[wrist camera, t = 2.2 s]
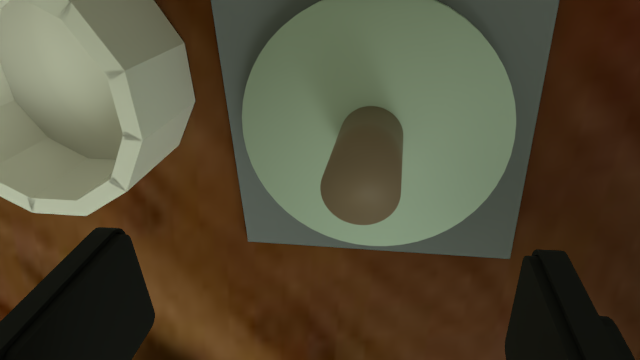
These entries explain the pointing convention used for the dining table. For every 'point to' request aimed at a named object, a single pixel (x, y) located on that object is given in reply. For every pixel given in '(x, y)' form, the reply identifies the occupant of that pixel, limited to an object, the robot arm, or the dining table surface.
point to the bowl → (87, 100)
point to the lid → (379, 119)
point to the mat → (521, 67)
